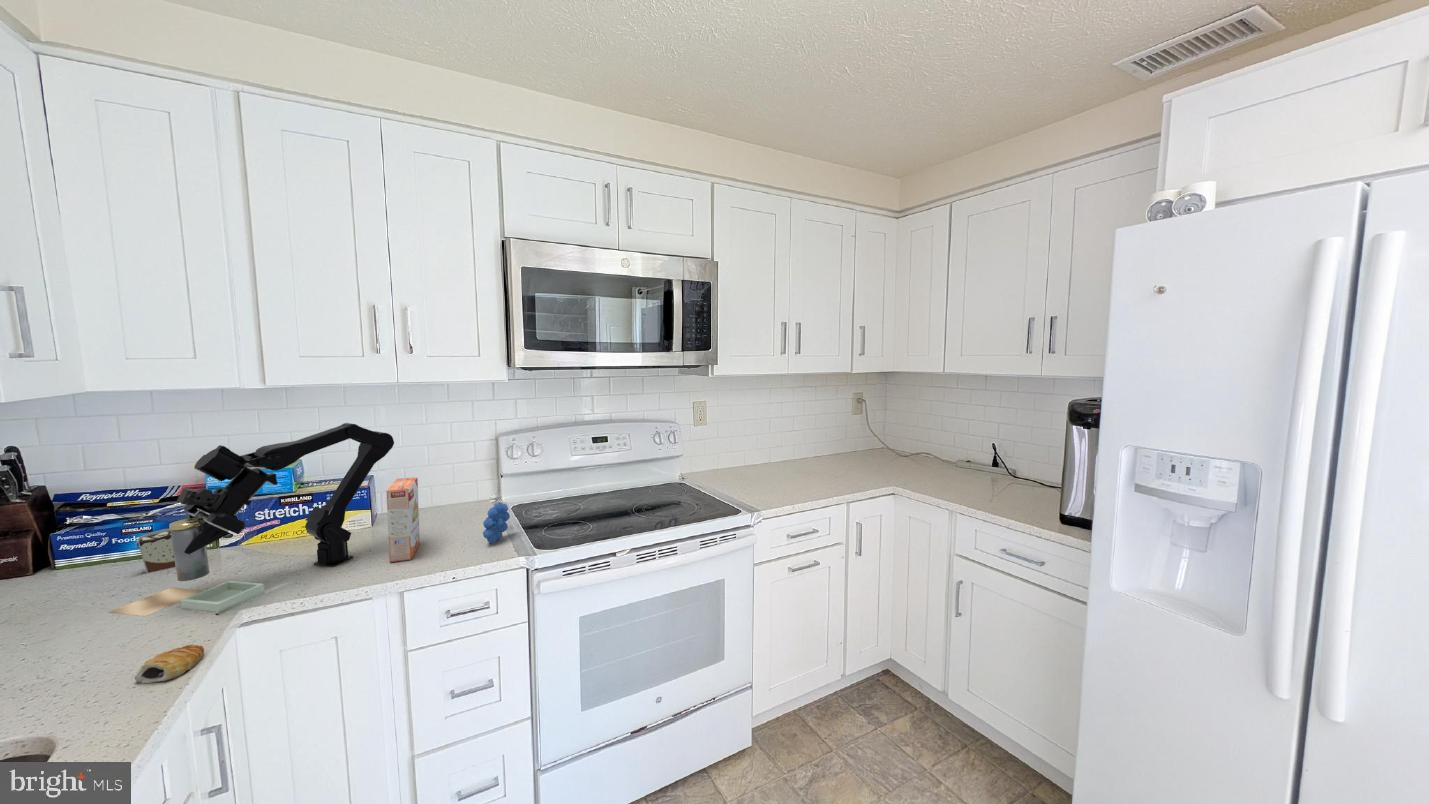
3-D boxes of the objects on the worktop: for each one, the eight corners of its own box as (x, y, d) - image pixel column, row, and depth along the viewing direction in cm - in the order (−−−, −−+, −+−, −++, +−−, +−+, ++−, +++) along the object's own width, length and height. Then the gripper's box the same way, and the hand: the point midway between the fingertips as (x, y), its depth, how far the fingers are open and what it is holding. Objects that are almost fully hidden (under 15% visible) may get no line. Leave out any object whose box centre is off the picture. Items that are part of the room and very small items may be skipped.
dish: (229, 590, 124) (228, 580, 124) (264, 593, 123) (263, 583, 123) (181, 611, 115) (180, 600, 114) (218, 614, 113) (217, 604, 113)
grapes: (496, 533, 164) (495, 497, 163) (515, 534, 163) (514, 498, 162) (472, 546, 153) (471, 508, 152) (492, 548, 152) (490, 509, 151)
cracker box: (413, 560, 143) (409, 488, 141) (388, 563, 141) (384, 490, 139) (421, 542, 156) (418, 476, 154) (399, 545, 154) (395, 478, 151)
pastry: (178, 655, 99) (176, 636, 98) (217, 652, 100) (215, 634, 99) (130, 686, 90) (128, 666, 89) (174, 683, 90) (172, 663, 90)
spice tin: (191, 571, 119) (184, 518, 118) (216, 570, 120) (209, 517, 118) (169, 581, 114) (161, 526, 112) (195, 580, 114) (188, 525, 113)
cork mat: (172, 589, 124) (172, 587, 124) (206, 592, 123) (206, 590, 123) (107, 614, 113) (107, 612, 113) (144, 618, 111) (144, 616, 111)
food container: (202, 556, 144) (199, 522, 143) (205, 562, 140) (202, 527, 139) (137, 570, 135) (133, 534, 134) (138, 577, 131) (134, 540, 130)
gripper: (190, 468, 122) (128, 527, 114) (220, 479, 113) (155, 543, 105) (236, 491, 130) (182, 548, 122) (268, 503, 121) (211, 565, 112)
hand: (181, 550), depth 115 cm, fingers closed on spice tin, 5 cm apart
